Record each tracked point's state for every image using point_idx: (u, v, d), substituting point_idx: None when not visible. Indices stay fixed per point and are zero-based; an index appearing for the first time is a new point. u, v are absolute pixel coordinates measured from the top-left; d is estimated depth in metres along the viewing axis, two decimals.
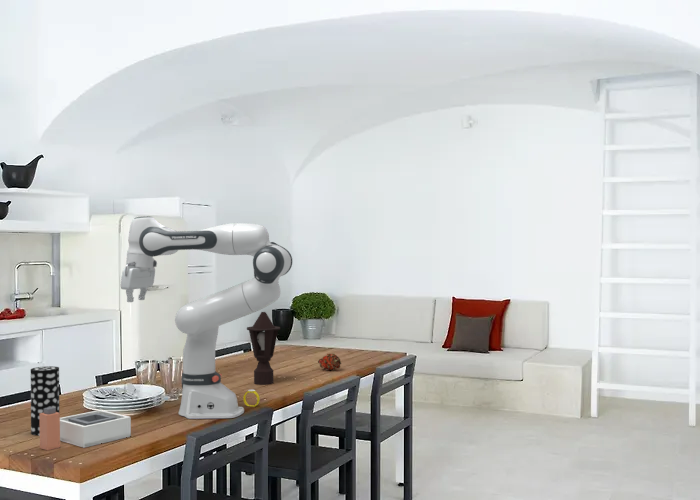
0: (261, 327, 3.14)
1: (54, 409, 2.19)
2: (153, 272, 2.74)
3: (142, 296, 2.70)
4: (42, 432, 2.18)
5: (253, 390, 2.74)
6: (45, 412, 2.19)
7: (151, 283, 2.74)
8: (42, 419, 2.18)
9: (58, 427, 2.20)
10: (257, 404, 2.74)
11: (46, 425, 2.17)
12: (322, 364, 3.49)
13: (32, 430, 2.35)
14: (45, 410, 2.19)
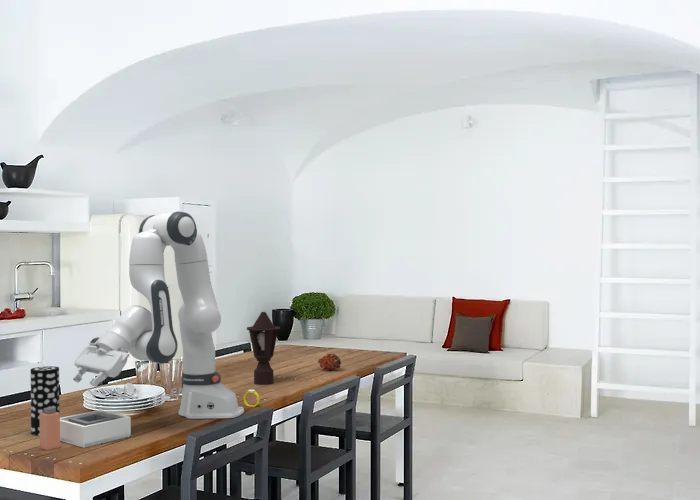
0: (261, 327, 3.14)
1: (54, 409, 2.19)
2: None
3: (80, 378, 2.33)
4: (42, 432, 2.18)
5: (253, 390, 2.74)
6: (45, 412, 2.19)
7: None
8: (42, 419, 2.18)
9: (58, 427, 2.20)
10: (257, 404, 2.74)
11: (46, 425, 2.17)
12: (322, 364, 3.49)
13: (32, 430, 2.35)
14: (45, 410, 2.19)
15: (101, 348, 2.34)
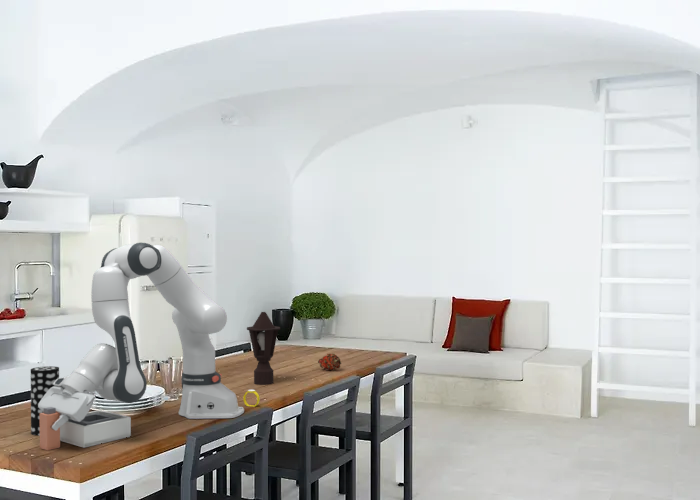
0: (261, 327, 3.14)
1: (54, 409, 2.19)
2: None
3: None
4: (42, 432, 2.18)
5: (253, 390, 2.74)
6: (45, 412, 2.19)
7: None
8: (42, 419, 2.18)
9: None
10: (257, 404, 2.74)
11: (46, 425, 2.17)
12: (322, 364, 3.49)
13: (32, 430, 2.35)
14: (45, 410, 2.19)
15: (66, 390, 2.23)
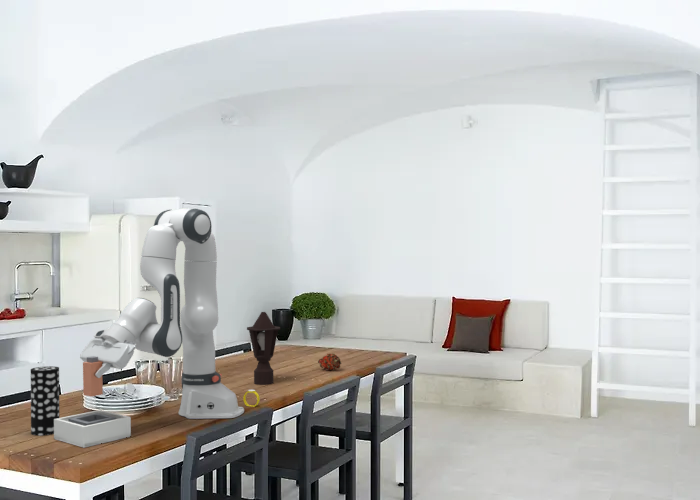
0: (261, 327, 3.14)
1: (97, 358, 2.30)
2: None
3: None
4: (86, 379, 2.29)
5: (253, 390, 2.74)
6: (88, 361, 2.29)
7: None
8: (86, 367, 2.29)
9: None
10: (257, 404, 2.74)
11: (90, 373, 2.28)
12: (322, 364, 3.49)
13: (32, 430, 2.35)
14: (88, 359, 2.29)
15: (107, 340, 2.34)
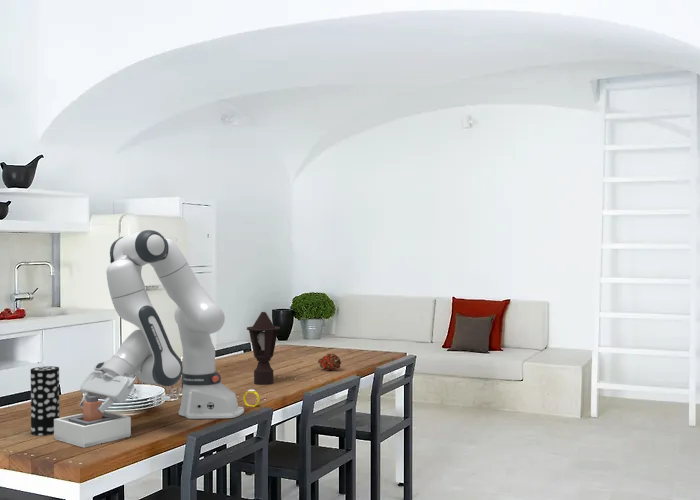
0: (261, 327, 3.14)
1: (97, 398, 2.30)
2: None
3: None
4: (86, 419, 2.29)
5: (253, 390, 2.74)
6: (88, 400, 2.30)
7: None
8: (86, 407, 2.29)
9: (100, 415, 2.31)
10: (257, 404, 2.74)
11: (90, 413, 2.28)
12: (322, 364, 3.49)
13: (32, 430, 2.35)
14: (88, 398, 2.30)
15: (107, 373, 2.34)
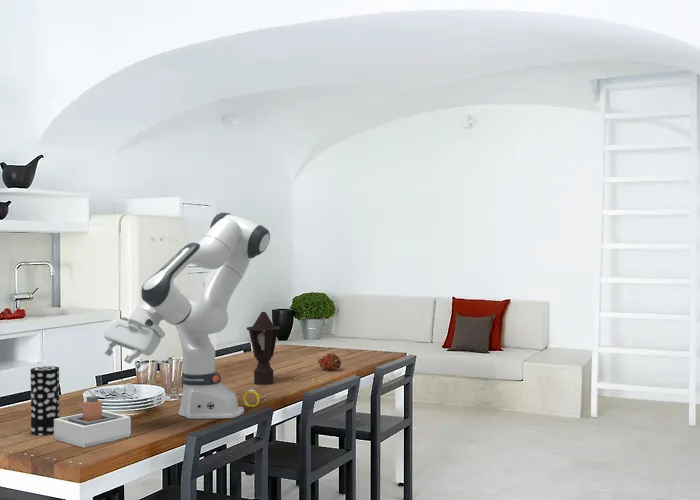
0: (261, 327, 3.14)
1: (97, 398, 2.30)
2: (149, 334, 2.38)
3: None
4: (86, 419, 2.29)
5: (253, 390, 2.74)
6: (88, 400, 2.30)
7: (142, 345, 2.37)
8: (86, 407, 2.29)
9: (100, 415, 2.31)
10: (257, 404, 2.74)
11: (90, 413, 2.28)
12: (322, 364, 3.49)
13: (32, 430, 2.35)
14: (88, 398, 2.30)
15: None
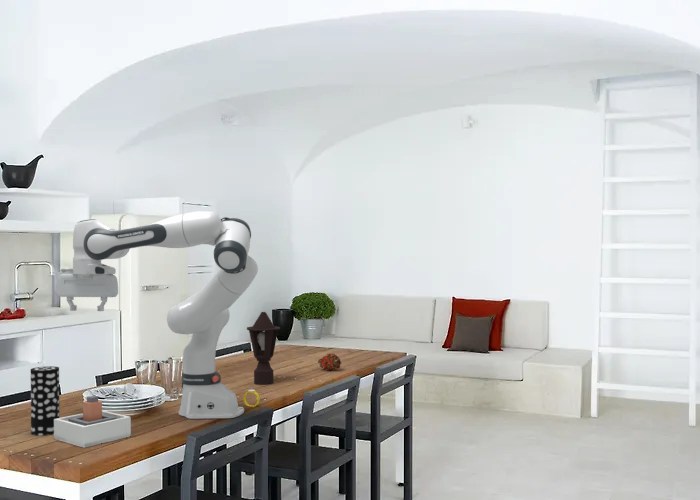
0: (261, 327, 3.14)
1: (97, 398, 2.30)
2: (107, 280, 2.46)
3: None
4: (86, 419, 2.29)
5: (253, 390, 2.74)
6: (88, 400, 2.30)
7: (107, 293, 2.46)
8: (86, 407, 2.29)
9: (100, 415, 2.31)
10: (257, 404, 2.74)
11: (90, 413, 2.28)
12: (322, 364, 3.49)
13: (32, 430, 2.35)
14: (88, 398, 2.30)
15: None
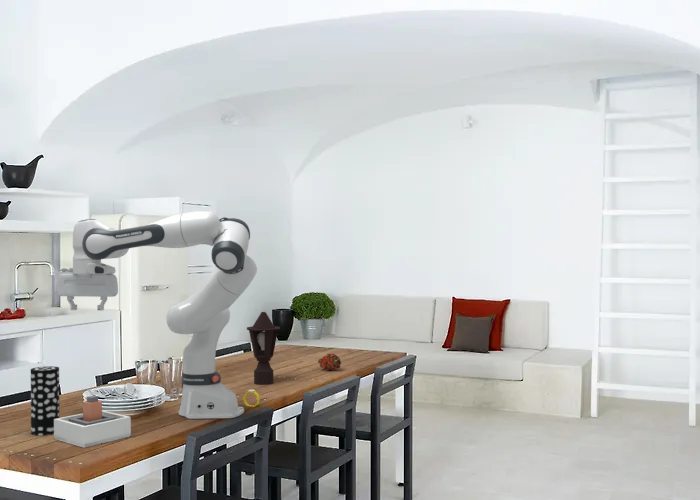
0: (261, 327, 3.14)
1: (97, 398, 2.30)
2: (106, 280, 2.47)
3: None
4: (86, 419, 2.29)
5: (253, 390, 2.74)
6: (88, 400, 2.30)
7: (107, 292, 2.47)
8: (86, 407, 2.29)
9: (100, 415, 2.31)
10: (257, 404, 2.74)
11: (90, 413, 2.28)
12: (322, 364, 3.49)
13: (32, 430, 2.35)
14: (88, 398, 2.30)
15: None
